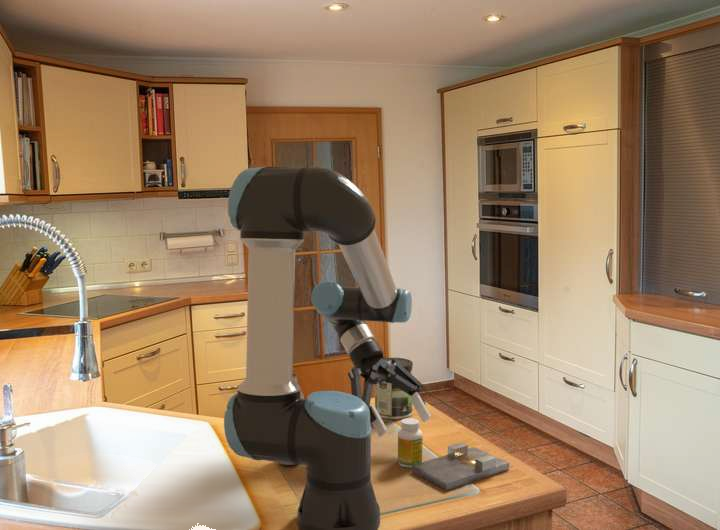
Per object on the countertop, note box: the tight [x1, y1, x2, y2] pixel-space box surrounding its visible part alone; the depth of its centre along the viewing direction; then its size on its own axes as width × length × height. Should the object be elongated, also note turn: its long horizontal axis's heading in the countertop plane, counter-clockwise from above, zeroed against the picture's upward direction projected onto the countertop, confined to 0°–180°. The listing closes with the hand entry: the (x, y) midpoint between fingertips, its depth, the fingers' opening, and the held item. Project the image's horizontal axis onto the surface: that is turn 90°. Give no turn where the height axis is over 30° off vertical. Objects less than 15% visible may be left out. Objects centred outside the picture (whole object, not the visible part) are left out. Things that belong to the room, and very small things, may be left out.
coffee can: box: [374, 357, 413, 420], centre depth 184 cm, size 10×10×14 cm
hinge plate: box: [411, 442, 510, 491], centre depth 147 cm, size 18×11×4 cm, turn 125°
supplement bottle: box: [397, 417, 423, 469], centre depth 151 cm, size 5×5×10 cm
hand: (406, 426), depth 153 cm, fingers open, 13 cm apart
